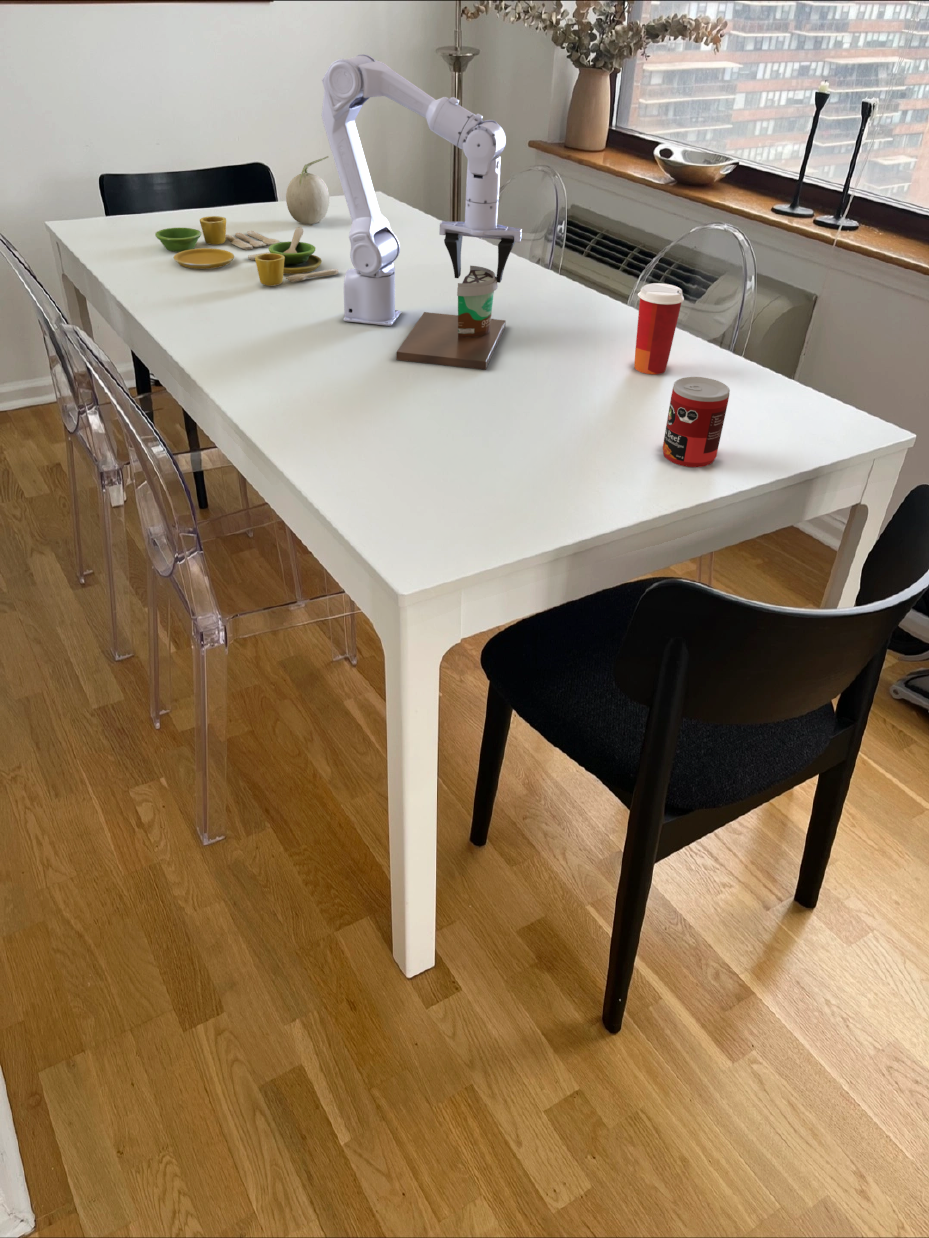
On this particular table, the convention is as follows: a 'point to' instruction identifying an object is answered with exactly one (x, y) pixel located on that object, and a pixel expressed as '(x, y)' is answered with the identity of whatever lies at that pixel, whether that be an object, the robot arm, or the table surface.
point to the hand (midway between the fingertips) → (478, 279)
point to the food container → (475, 302)
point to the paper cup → (656, 326)
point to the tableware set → (269, 264)
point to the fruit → (307, 197)
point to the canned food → (695, 421)
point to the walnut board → (449, 343)
